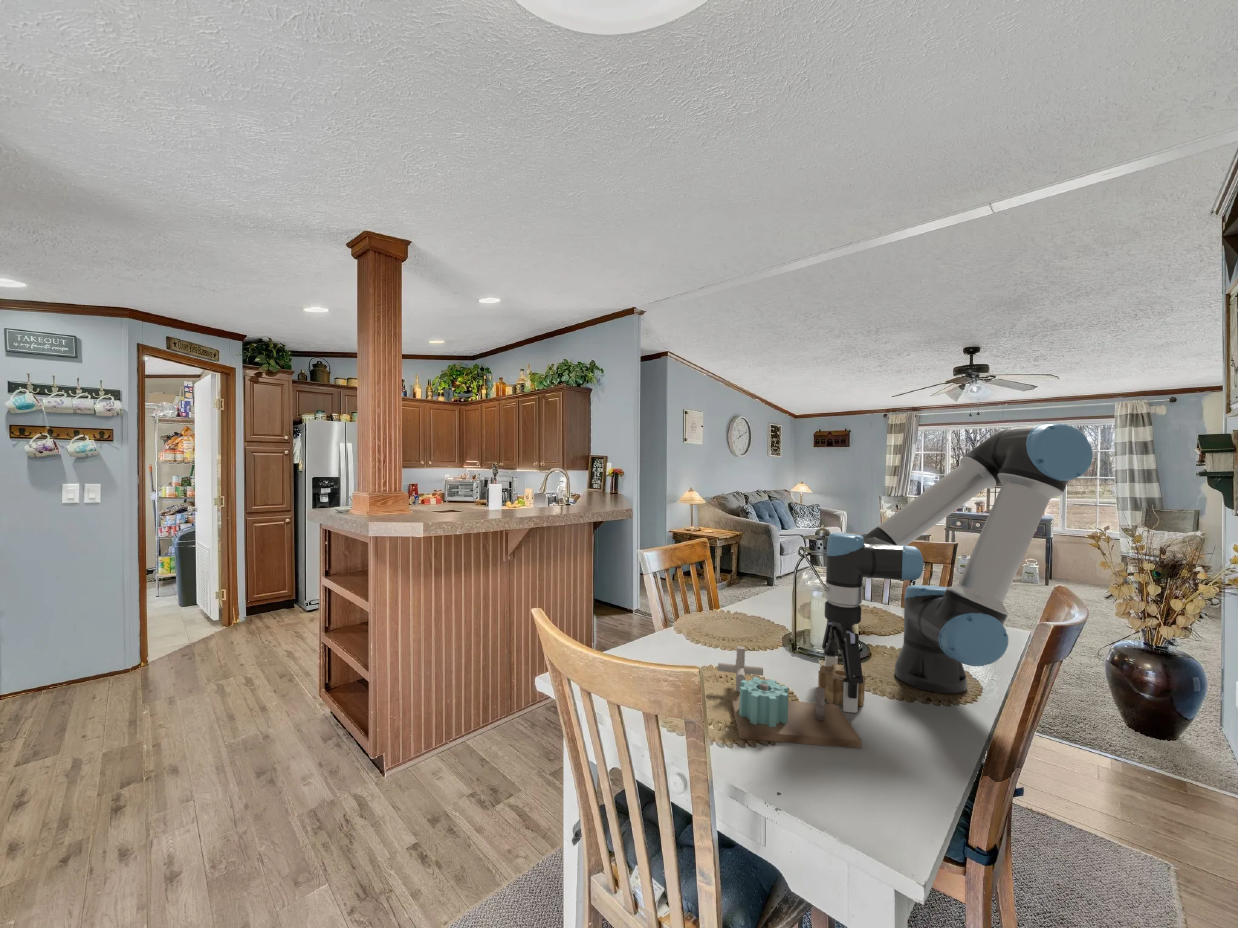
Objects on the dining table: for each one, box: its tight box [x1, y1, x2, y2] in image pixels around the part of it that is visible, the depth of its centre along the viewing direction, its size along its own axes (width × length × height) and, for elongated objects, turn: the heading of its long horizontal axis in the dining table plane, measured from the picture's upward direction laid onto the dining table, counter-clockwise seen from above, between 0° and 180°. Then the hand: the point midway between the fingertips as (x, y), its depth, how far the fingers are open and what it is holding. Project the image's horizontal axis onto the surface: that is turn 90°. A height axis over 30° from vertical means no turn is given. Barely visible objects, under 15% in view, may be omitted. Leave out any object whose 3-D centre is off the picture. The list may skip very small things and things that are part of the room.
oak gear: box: [817, 665, 866, 707], centre depth 116 cm, size 10×10×6 cm
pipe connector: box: [717, 645, 764, 692], centre depth 118 cm, size 10×10×10 cm
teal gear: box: [739, 676, 789, 727], centre depth 104 cm, size 10×10×6 cm
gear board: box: [730, 684, 862, 749], centre depth 104 cm, size 22×14×8 cm, turn 84°
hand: (839, 696), depth 116 cm, fingers open, 13 cm apart
